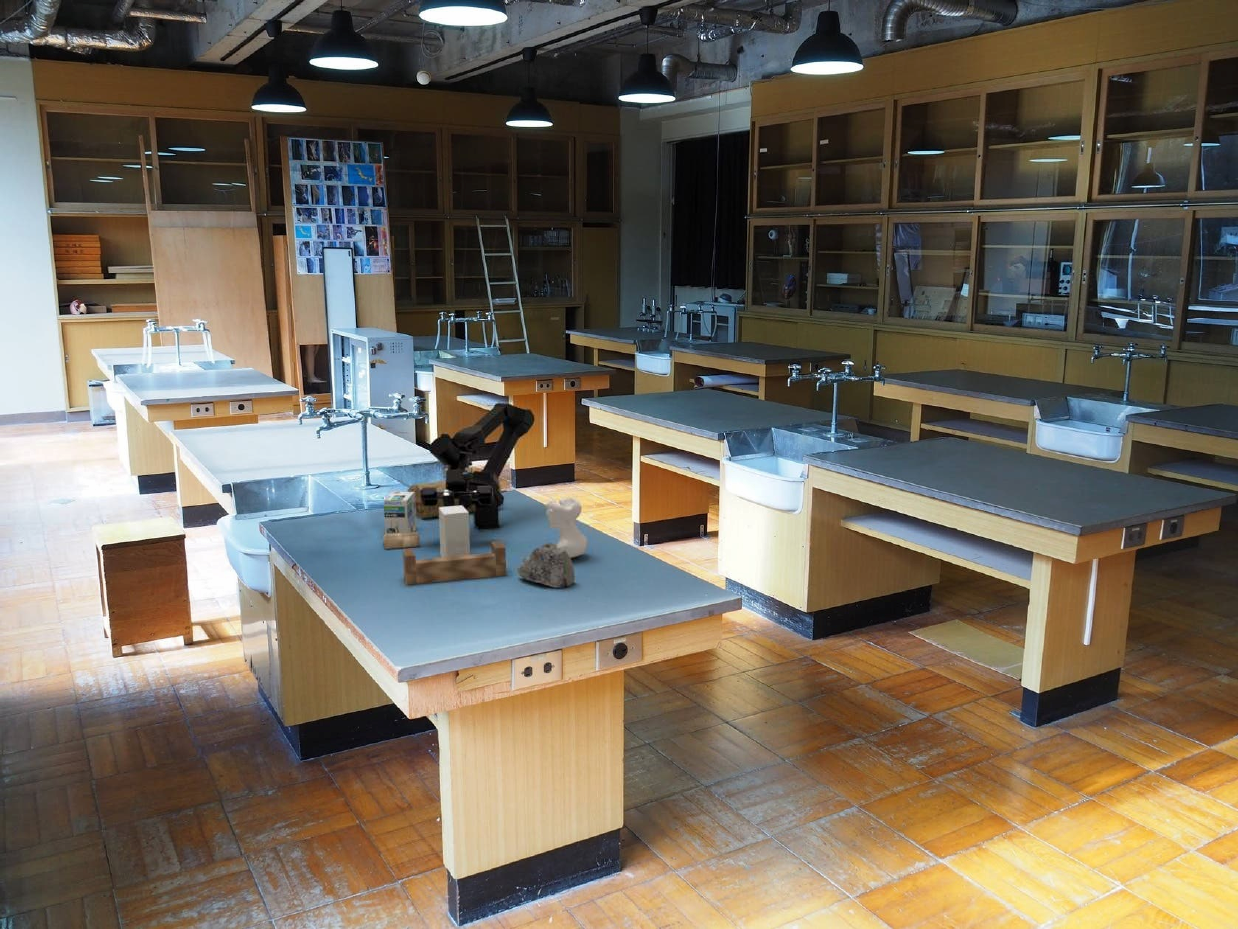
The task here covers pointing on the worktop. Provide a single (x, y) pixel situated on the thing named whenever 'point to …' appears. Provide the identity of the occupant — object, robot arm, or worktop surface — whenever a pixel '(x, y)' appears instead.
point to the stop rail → (454, 566)
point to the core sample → (434, 510)
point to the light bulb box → (400, 513)
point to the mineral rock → (548, 566)
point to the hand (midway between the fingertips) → (456, 523)
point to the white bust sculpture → (567, 525)
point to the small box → (454, 531)
